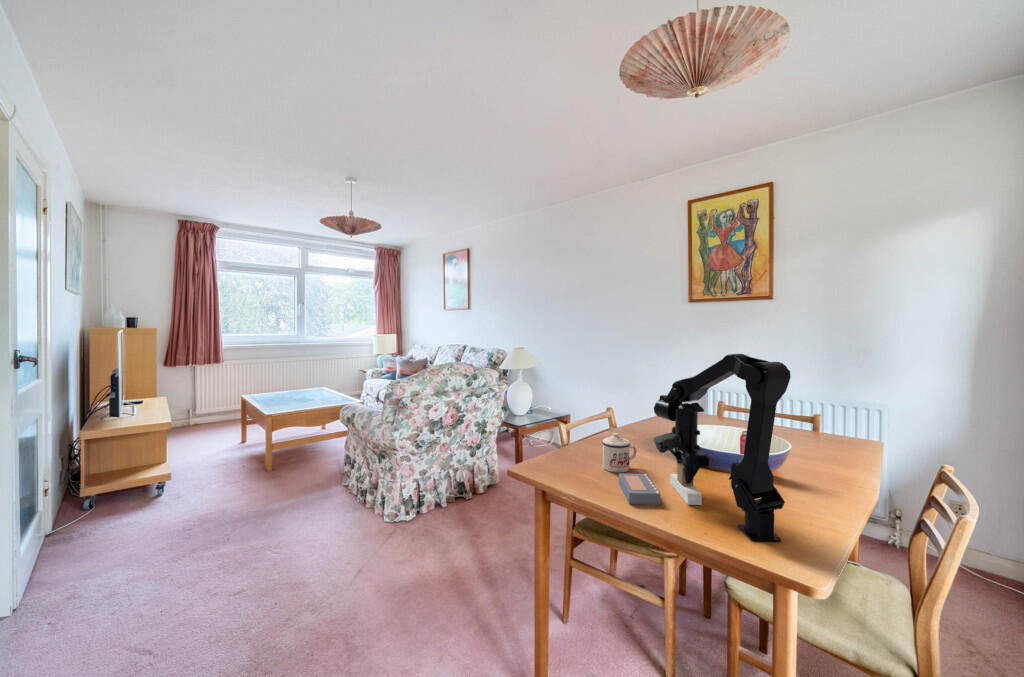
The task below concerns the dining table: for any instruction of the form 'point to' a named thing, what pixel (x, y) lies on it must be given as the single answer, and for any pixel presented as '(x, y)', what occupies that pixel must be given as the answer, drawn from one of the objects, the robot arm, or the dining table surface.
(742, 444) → the soda can
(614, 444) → the teacup with lid
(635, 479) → the grey flat block
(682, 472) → the stub
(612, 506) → the dining table surface
